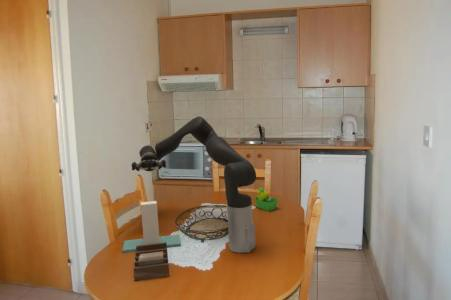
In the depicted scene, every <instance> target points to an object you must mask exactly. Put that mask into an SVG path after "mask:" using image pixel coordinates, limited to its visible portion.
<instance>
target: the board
mask: <svg viewBox="0 0 451 300" xmlns="http://www.w3.org/2000/svg"><path fill="white" fill-rule="evenodd" d="M159 239H160V243H164V242H166V243H167V249H168V248H177V247H181V246H182V243H181V238H180V234H170V235H162V236H161V235H160V236H159ZM138 245H144V238H138V239H137V238H136V239H129V240H128V239H127V240H124V241H123V246H122V250H121V251H122V254H127V253H134V252H136V246H138Z"/></svg>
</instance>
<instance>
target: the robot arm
mask: <svg viewBox="0 0 451 300" xmlns="http://www.w3.org/2000/svg"><path fill="white" fill-rule="evenodd" d="M215 131H216V130H214V128H213V126H211V124H210V123H208V121H207V120H206V119H205V118H204V117H202V116H196V117H194V118H192V119H190V120H189V121H188V122H186V124H184V125H183V126H181V128H179V129H177V130H176V131H175V132H174V133H173V134H171V135H170V136H169V137H166V138H165V139H163V140H161V141H159V142H158V143H156V145H155V147H154V148H155V149H154V148H153V146H151V145H145V146H143V147H141V149H140V150H139V156H140V161H139V162H138V163H137V162H136V161H133V162H132V163H131V171H137V172H140V171H146V172H152V171H155V170H156V169H157V170H158V171H159V170H161V169H163V168H164V169H165V168H167V162H166V160H165V159H164V157H166V156H168V155H169V154H171V153H174V152H175V151H176V150H177V149H178V148H179V146H180V144H181V142H182V141H183V139H184V137H185V136H187V135H189V134H190V135H191V136H192V137H193V138H194V139H195V140H196V141H198V142H199V143H201V145H203V146H204V147H205V151H206V153H207V155H208V156H209V157H210V158H211V159H212V161H214V162H215V163H216V164H219V165H221V166H223V167H224V168H223V176H224V177H223V180H224V187H225V188H224V189H225V198H226V203H227V205H226V212H227V211H228V222H227V226H228V227H227V228H228V230H227V231H228V247H229V250H230V251H231V252H234V253H239V254H240V253H250V252H251V251H252V250H254V249H255V248H256V226H255V223H254V222H253V201H252V196H251V195H249V194H245V193H240V192H239V188H243V187H248V186H252V185H253V184H254V183H255V182H256V181H257V173H256V169H255V167H254V165H253V164H252V163H251V162H250V161H249V160H248V159H246V158H245V157H243V156H242V155H241V154H239V153H238V151H236V150H235V149H234V148H233V147H232V146H231V145H230V144H229V142H227V141H226V140H225V139H224V138H223V137H221V136H219V135H218V134H217V133H216V132H215Z"/></svg>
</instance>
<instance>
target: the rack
mask: <svg viewBox="0 0 451 300" xmlns="http://www.w3.org/2000/svg"><path fill="white" fill-rule="evenodd" d="M162 251H163V259H164V264H156V265H149V266H141V267H139V264H138V259H139V256H140V254H146V253H154V252H162ZM134 260H135V261H134V263H133V265H134V267H133V275H134V276H133V277H134V278H133V279H134V281H135V282H137V281H141V280H142V281H143V280H144V281H145V280H150V279H157V278H164V277H165V278H166V277H170V267H169V256H168V248H167V243H166V242H164V243H155V244H147V245H138V246H136V252H135V256H134Z"/></svg>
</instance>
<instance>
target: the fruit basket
mask: <svg viewBox="0 0 451 300" xmlns="http://www.w3.org/2000/svg"><path fill="white" fill-rule="evenodd" d="M256 193H257V194H256V195H257V196H255V197H253V199H254V203H255V205H256V208H258V209H261V210H263V211H266V212H270V211H273V210H276V209H277V205H278V202H279V199H277V198H274V197H271V196H268V195H269V193H268V191H266V190H265V189H264V187H260V188H258V189H257V191H256Z"/></svg>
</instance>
